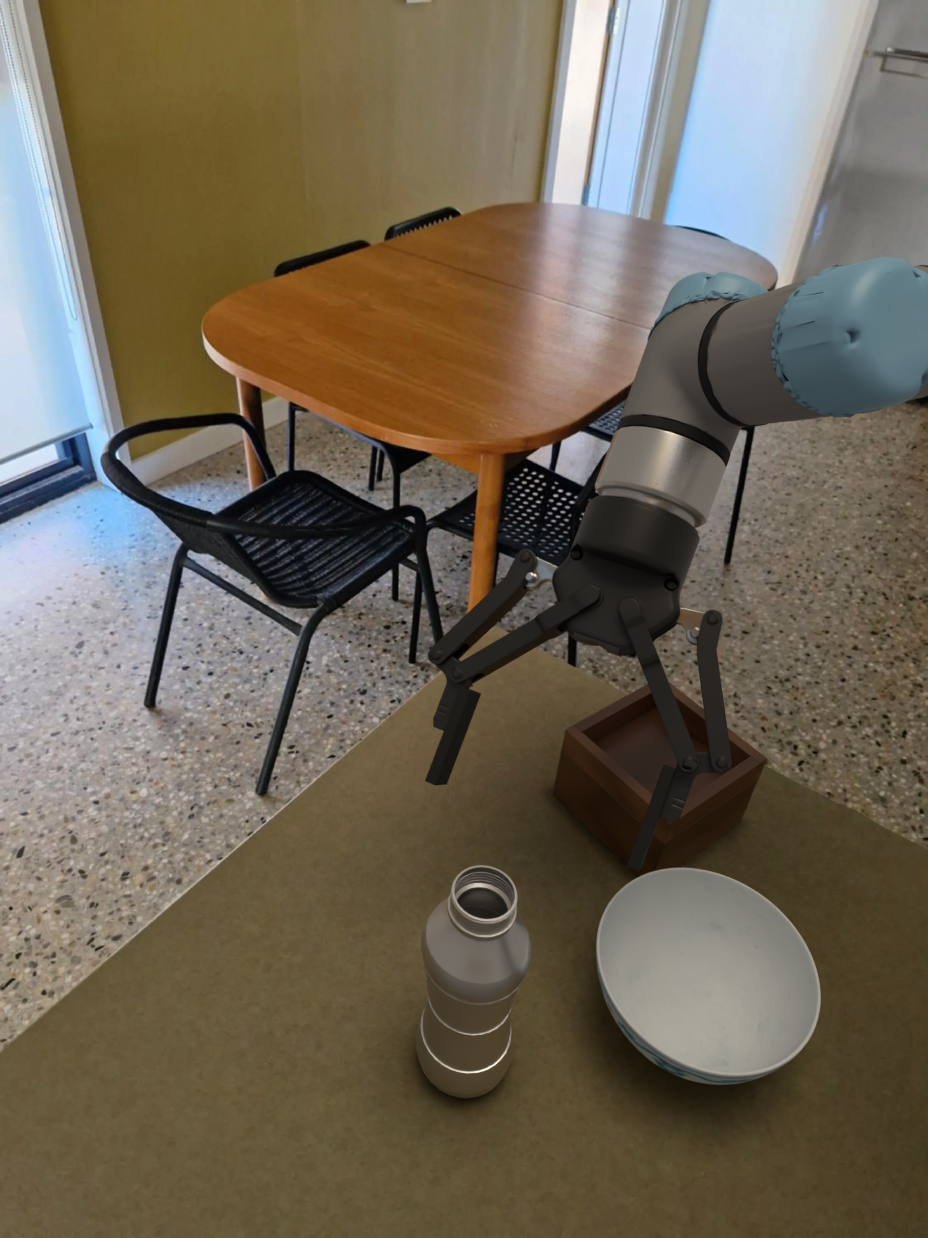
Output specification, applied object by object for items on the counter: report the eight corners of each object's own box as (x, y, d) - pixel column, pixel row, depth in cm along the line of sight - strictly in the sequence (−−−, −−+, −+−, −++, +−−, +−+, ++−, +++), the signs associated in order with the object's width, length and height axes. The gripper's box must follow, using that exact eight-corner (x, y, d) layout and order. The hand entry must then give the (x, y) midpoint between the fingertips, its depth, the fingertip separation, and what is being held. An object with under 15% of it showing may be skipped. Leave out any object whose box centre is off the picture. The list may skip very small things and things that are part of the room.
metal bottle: (479, 1130, 58) (510, 970, 45) (394, 1072, 61) (401, 905, 48) (526, 1047, 62) (565, 880, 50) (445, 996, 65) (463, 825, 52)
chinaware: (593, 1126, 59) (614, 1074, 54) (569, 922, 70) (584, 864, 65) (814, 1128, 60) (854, 1077, 55) (754, 927, 71) (782, 869, 66)
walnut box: (740, 822, 79) (767, 758, 74) (648, 889, 73) (670, 824, 68) (643, 739, 86) (661, 675, 81) (552, 794, 80) (565, 729, 75)
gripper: (835, 584, 57) (724, 897, 56) (485, 478, 65) (380, 752, 63) (853, 558, 50) (727, 916, 49) (458, 442, 58) (339, 750, 56)
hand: (531, 824), depth 56 cm, fingers open, 13 cm apart
